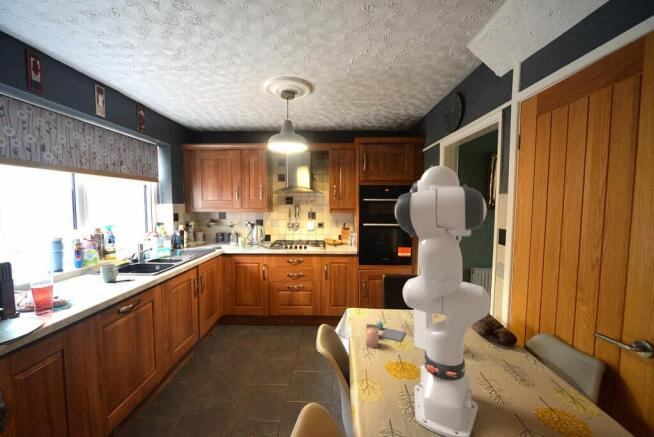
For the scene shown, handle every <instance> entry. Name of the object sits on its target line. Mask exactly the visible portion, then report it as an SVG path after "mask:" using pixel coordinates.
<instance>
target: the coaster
mask: <svg viewBox="0 0 654 437" xmlns="http://www.w3.org/2000/svg"><path fill="white" fill-rule="evenodd" d="M405 335H406V331H403V330H397V329H393V328H392V329H391V328H387V327H385V328H384V330H383V332H381V334H380V336H379V337H380V338H381V339H387V340H390V341H395V342H399V343H400V342H402V340H403V338H404V336H405Z"/></svg>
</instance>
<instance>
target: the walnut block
mask: <svg viewBox="0 0 654 437" xmlns="http://www.w3.org/2000/svg"><path fill="white" fill-rule="evenodd" d="M367 328H376V329H378V328H377V325H376V324H370V323H367V324H366V327H365V330H366V329H367Z"/></svg>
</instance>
